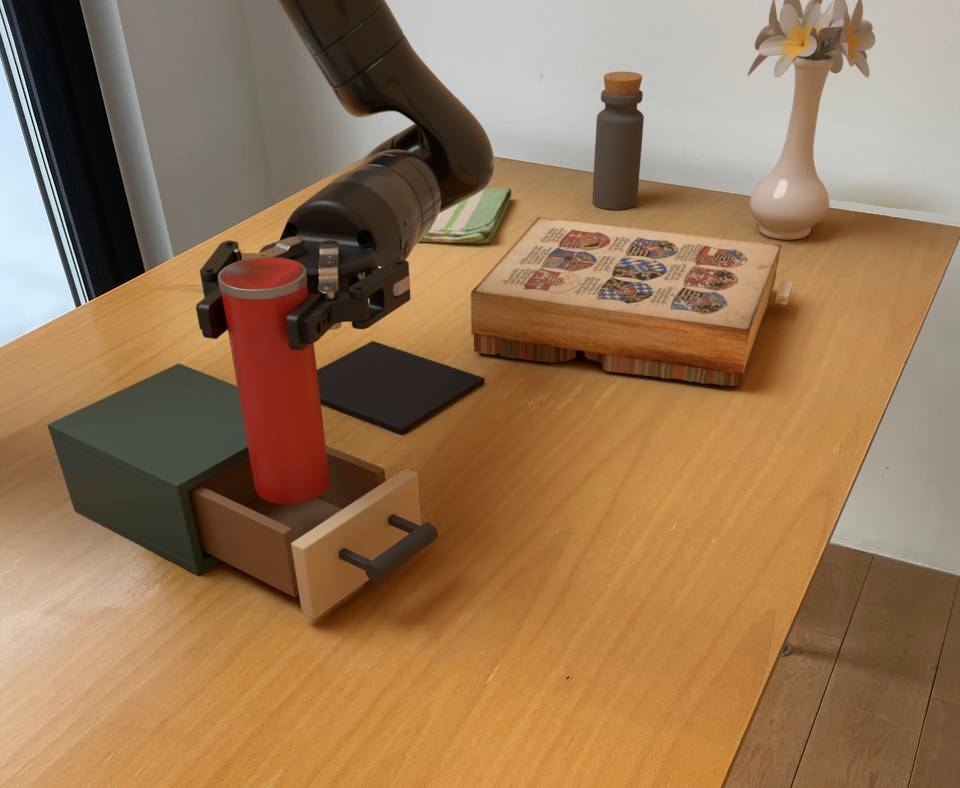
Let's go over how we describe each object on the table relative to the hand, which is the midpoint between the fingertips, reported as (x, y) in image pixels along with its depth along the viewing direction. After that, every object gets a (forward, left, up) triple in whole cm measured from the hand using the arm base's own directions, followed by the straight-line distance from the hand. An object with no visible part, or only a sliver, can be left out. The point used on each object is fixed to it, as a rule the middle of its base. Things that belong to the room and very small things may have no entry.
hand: (249, 329), depth 63 cm
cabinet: (-13, +3, -19) cm, 23 cm away
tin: (-1, +2, -13) cm, 13 cm away
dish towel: (-42, +64, -19) cm, 78 cm away
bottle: (-24, +84, -19) cm, 89 cm away
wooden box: (-2, +53, -19) cm, 56 cm away
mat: (-14, +27, -19) cm, 35 cm away
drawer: (+1, +3, -18) cm, 18 cm away
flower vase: (-2, +87, -19) cm, 89 cm away
